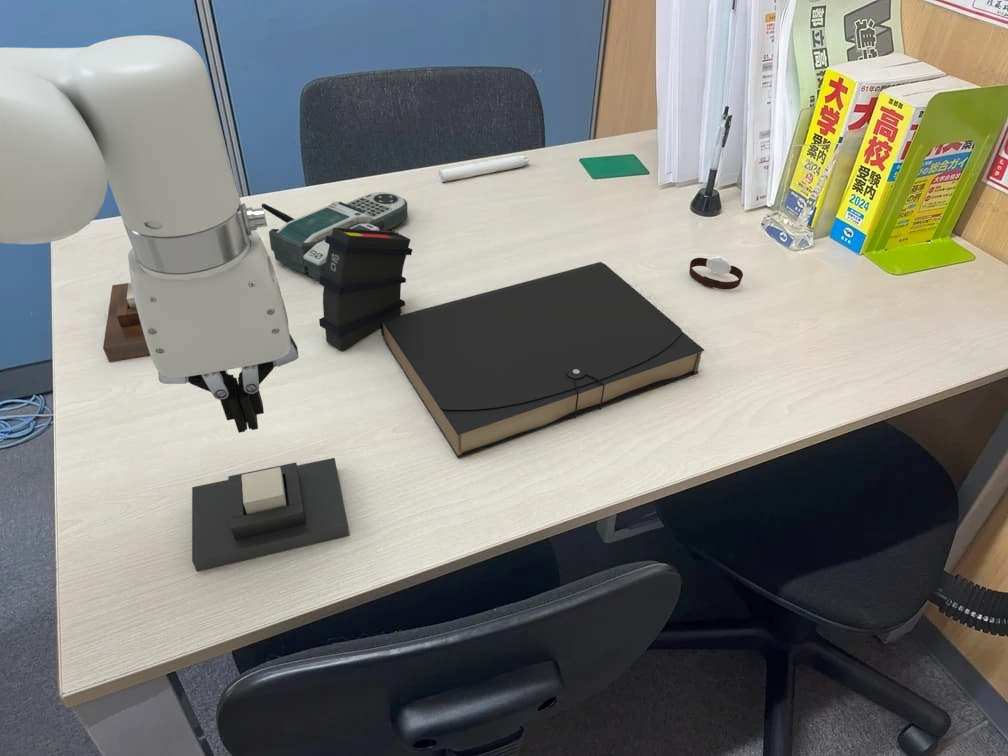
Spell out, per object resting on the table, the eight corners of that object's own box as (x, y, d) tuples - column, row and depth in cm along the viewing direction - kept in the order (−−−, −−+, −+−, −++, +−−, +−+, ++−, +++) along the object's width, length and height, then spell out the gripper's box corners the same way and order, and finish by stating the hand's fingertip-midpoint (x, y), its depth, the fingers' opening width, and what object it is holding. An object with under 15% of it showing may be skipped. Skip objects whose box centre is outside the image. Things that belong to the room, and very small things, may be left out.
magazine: (301, 342, 88) (328, 226, 83) (376, 335, 99) (403, 231, 94) (321, 355, 86) (349, 237, 81) (395, 346, 97) (424, 241, 92)
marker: (527, 162, 133) (527, 150, 132) (532, 166, 132) (533, 154, 130) (438, 179, 127) (438, 166, 125) (443, 184, 125) (443, 171, 124)
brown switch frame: (195, 348, 89) (187, 322, 87) (108, 362, 87) (97, 336, 84) (195, 287, 99) (187, 263, 96) (117, 298, 97) (107, 273, 94)
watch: (742, 280, 105) (749, 259, 103) (735, 296, 102) (741, 275, 99) (692, 266, 108) (697, 245, 105) (683, 281, 104) (688, 260, 102)
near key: (247, 515, 66) (243, 503, 65) (245, 486, 69) (241, 474, 68) (286, 506, 67) (283, 494, 66) (283, 478, 70) (280, 466, 69)
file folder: (458, 433, 74) (378, 312, 90) (459, 460, 76) (381, 338, 92) (706, 348, 86) (596, 255, 102) (699, 374, 89) (593, 279, 105)
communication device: (431, 223, 115) (429, 172, 109) (324, 288, 100) (316, 232, 94) (375, 201, 120) (371, 151, 114) (265, 260, 105) (254, 205, 99)
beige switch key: (161, 305, 90) (157, 294, 89) (130, 309, 89) (126, 298, 88) (162, 289, 92) (158, 278, 91) (132, 294, 91) (128, 282, 90)
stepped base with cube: (196, 571, 65) (186, 549, 63) (196, 497, 72) (187, 475, 69) (349, 535, 69) (345, 513, 66) (336, 468, 75) (332, 445, 73)
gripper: (294, 195, 54) (328, 376, 66) (78, 222, 50) (157, 408, 62) (305, 245, 49) (340, 431, 61) (64, 279, 45) (153, 470, 57)
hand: (247, 419), depth 62 cm, fingers closed
